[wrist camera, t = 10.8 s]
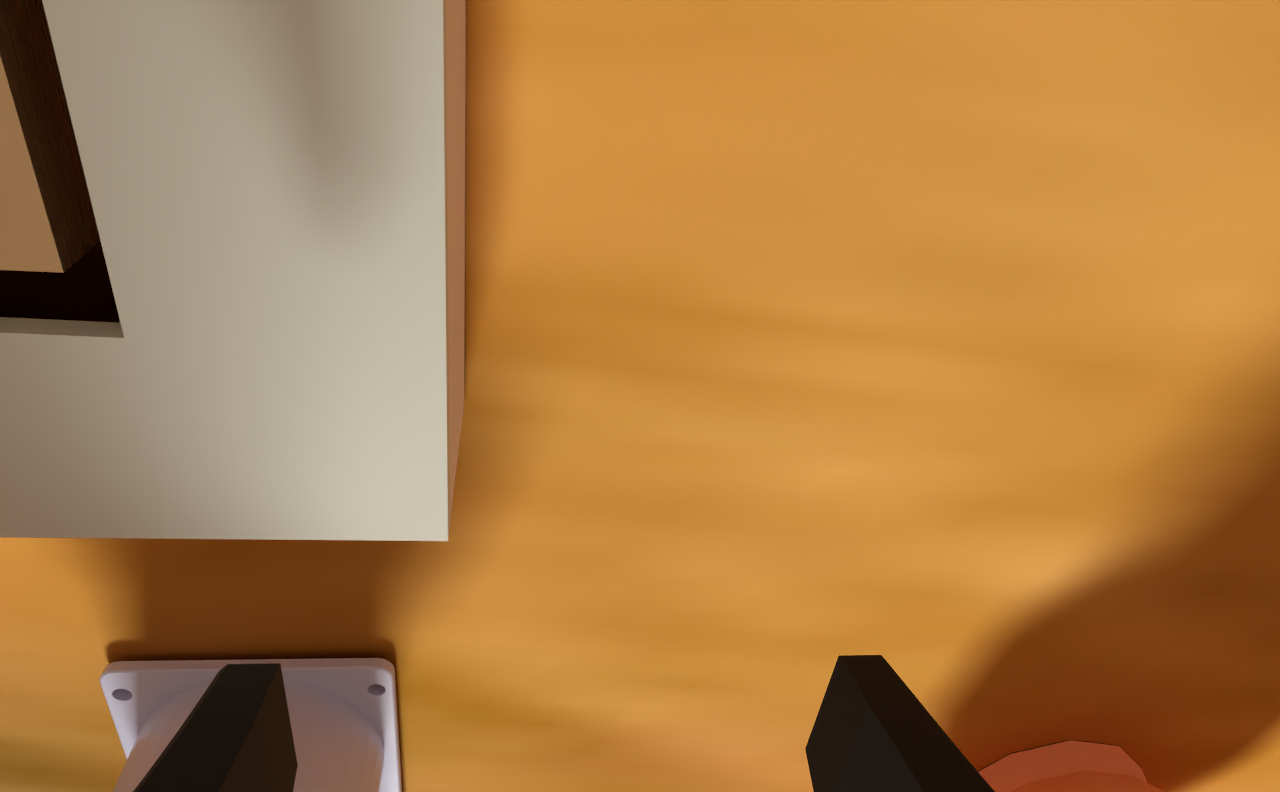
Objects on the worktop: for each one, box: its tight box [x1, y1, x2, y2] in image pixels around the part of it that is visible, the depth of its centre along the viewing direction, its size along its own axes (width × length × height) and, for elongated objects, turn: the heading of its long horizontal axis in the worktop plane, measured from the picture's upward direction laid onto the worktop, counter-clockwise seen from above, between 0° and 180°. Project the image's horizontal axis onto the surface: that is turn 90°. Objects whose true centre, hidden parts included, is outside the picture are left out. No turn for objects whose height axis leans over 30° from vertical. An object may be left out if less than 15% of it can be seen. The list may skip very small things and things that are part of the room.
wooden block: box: [0, 0, 100, 273], centre depth 13 cm, size 5×2×5 cm, turn 174°
